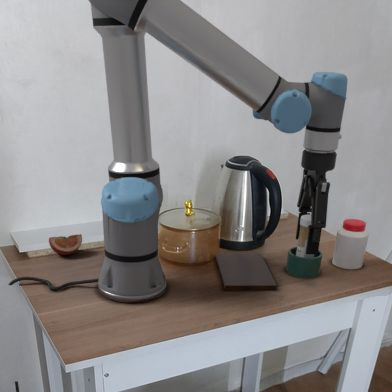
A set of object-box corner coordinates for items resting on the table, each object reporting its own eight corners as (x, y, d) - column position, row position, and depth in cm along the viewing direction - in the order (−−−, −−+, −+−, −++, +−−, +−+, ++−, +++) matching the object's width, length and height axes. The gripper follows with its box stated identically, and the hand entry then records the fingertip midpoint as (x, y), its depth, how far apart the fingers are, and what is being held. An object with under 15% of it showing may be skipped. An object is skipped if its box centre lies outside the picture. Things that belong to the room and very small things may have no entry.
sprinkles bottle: (291, 266, 139) (298, 214, 132) (308, 265, 140) (316, 213, 133) (297, 273, 136) (304, 220, 129) (314, 273, 136) (323, 219, 129)
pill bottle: (360, 259, 146) (368, 218, 141) (364, 270, 140) (373, 228, 134) (330, 257, 147) (337, 216, 141) (333, 268, 140) (341, 226, 135)
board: (224, 290, 127) (225, 285, 126) (215, 257, 144) (215, 253, 143) (276, 290, 128) (276, 285, 127) (260, 257, 145) (261, 253, 144)
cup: (290, 278, 134) (292, 258, 132) (283, 264, 141) (285, 246, 139) (323, 277, 135) (326, 258, 132) (314, 264, 142) (317, 246, 139)
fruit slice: (79, 248, 146) (78, 229, 144) (86, 256, 141) (85, 238, 139) (47, 252, 143) (45, 233, 141) (54, 261, 138) (52, 242, 136)
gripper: (352, 161, 114) (334, 263, 126) (322, 140, 133) (309, 231, 144) (316, 160, 113) (302, 263, 125) (292, 140, 132) (281, 230, 144)
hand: (306, 246), depth 135 cm, fingers open, 9 cm apart
